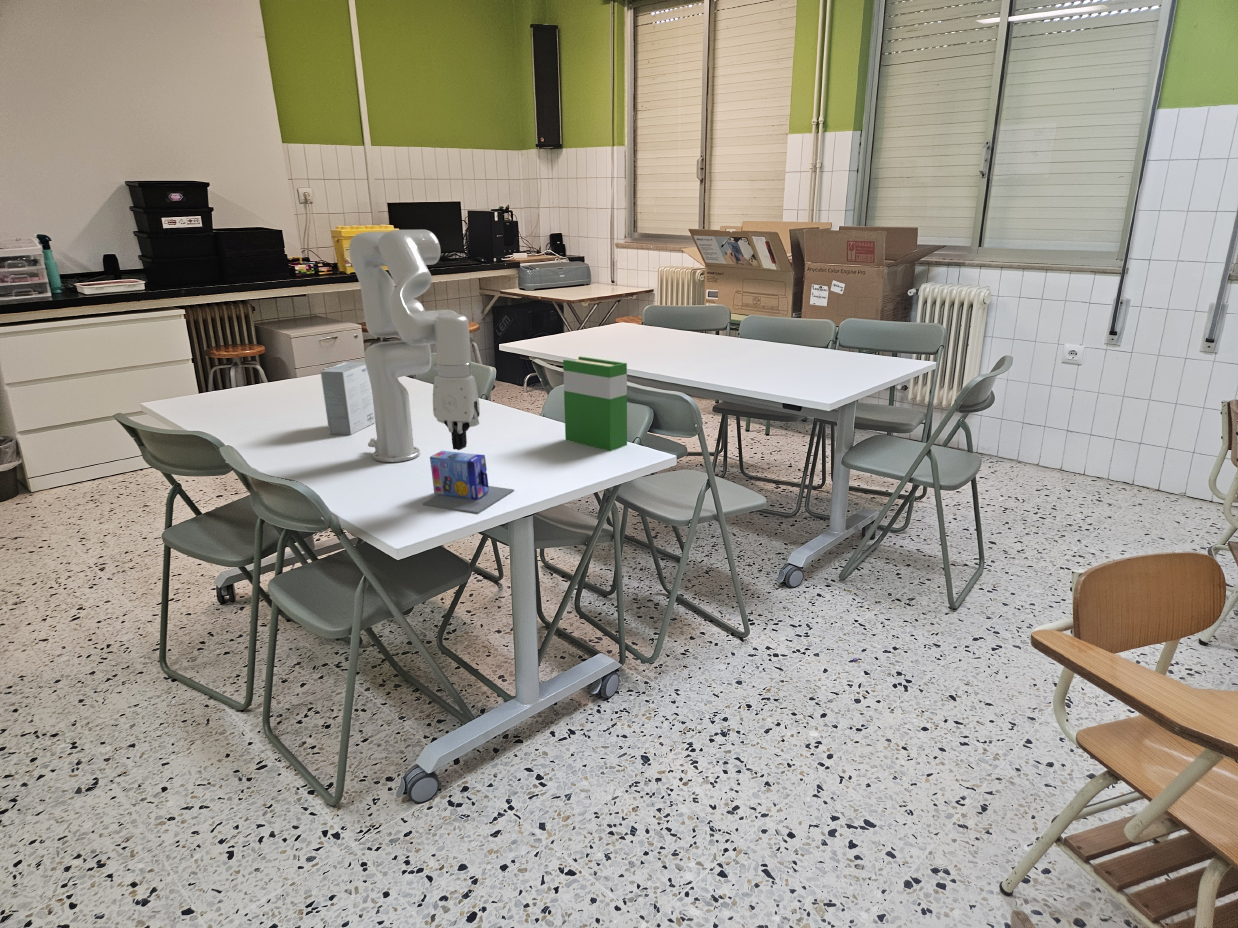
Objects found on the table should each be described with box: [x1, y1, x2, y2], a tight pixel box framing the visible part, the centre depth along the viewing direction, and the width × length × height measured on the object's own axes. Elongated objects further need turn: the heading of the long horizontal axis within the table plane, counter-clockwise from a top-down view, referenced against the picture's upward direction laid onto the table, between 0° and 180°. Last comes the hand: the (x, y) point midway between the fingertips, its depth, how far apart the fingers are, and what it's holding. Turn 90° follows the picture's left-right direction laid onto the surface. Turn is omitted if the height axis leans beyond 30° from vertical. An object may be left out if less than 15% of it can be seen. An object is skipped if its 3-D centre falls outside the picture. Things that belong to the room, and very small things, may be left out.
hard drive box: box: [320, 361, 375, 436], centre depth 237 cm, size 16×8×20 cm, turn 168°
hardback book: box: [562, 356, 628, 452], centre depth 220 cm, size 18×7×24 cm, turn 50°
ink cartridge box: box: [429, 450, 490, 500], centre depth 179 cm, size 10×6×14 cm
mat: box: [422, 485, 515, 515], centre depth 180 cm, size 15×16×1 cm
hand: (459, 448), depth 177 cm, fingers closed
